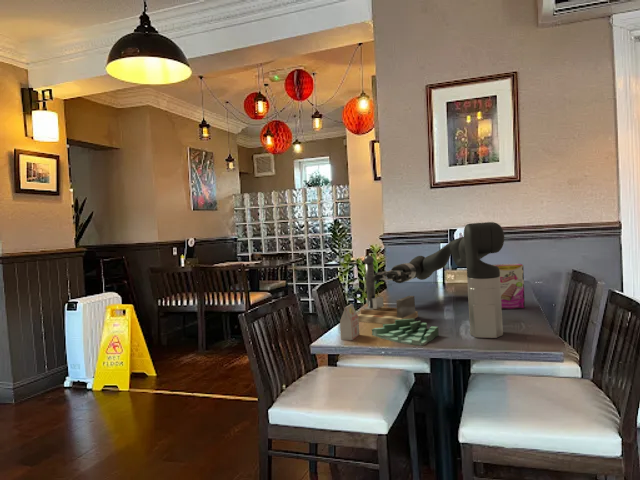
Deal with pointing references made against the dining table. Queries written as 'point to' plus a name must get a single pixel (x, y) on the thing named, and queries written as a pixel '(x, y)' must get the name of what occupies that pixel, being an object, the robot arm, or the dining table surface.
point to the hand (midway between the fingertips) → (383, 278)
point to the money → (407, 332)
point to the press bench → (391, 312)
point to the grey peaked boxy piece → (349, 323)
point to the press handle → (371, 286)
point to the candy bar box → (512, 285)
